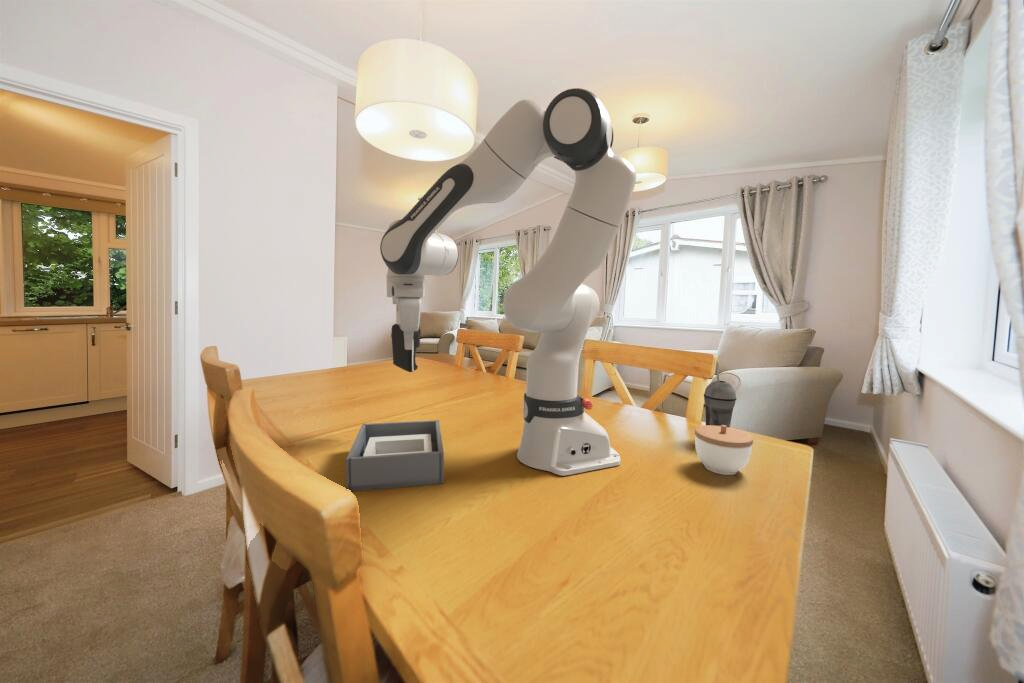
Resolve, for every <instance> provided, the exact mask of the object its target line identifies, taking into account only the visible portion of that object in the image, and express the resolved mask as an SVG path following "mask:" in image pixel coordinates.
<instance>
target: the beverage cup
mask: <svg viewBox="0 0 1024 683" xmlns="http://www.w3.org/2000/svg"><path fill="white" fill-rule="evenodd" d="M715 368H716V380H714V381H711V383H709V384H708V385H707V386H706V388H705V390H704V393H703V399H704V404H705V405H704V406H705V407H704V408H705V426H706V425H714V426H721V425H726V426H727V427H729V428H731V421H732V417H733V411H734V408H735V405H736V402H737V399H738V398H737V394H736V391H735V388H734V387H733V386H732V384H730V383H729V382H728V381H725V380H720V368H719V363H718V362H717V363H715Z"/></svg>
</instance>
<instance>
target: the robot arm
mask: <svg viewBox="0 0 1024 683" xmlns="http://www.w3.org/2000/svg"><path fill="white" fill-rule="evenodd" d="M613 143H614V129H613V126H612V120H611V117H610V114H609V112H608V110H607V108H606V107H605V105H604V104H603V102H602V101H601V99H600V98H599V97H598V95H596V94H595V93H594V92H592V91H589V90H588V89H584V88H579V87H578V88H577V87H574V88H569V89H568V88H567V89H566V90H563V91H561V92H560V93H558V94H557V95H556V96H555V97H554V98H553V99H552V100H551V101H550V102H549V104H548V106H547V108H545V107H543V106H542V105H541V104H539V102H536V101H535V100H534V101H533V100H530V99H521V100H518V101H517V102H516V103H515V104H514V105H513V106H512V107H510V108H509V109H508V110H507V111H506V112H505V113H504V114H503V115H502V116H501V117H500V119H498V121H497V122H496V123H495V124H494V125H493V127H492V128H491V129H490V131H488V133H487V134H486V136H485V137H484V138H483V139H482V141H481V143H479V145H478V146H477V147H476V148H475V149H474V150H473V152H471V153H470V154H469V155H468V156H467V157H466V158H465V159H464V160H463V159H462V161H460V162H459V163H457V164H455V165H453V166H451V167H450V168H449V169H448V170H446V171H445V172H444V173H443V174H442V175H441V176H440V177H439V178H437V180H436V181H435V182H434V184H432V186H431V187H430V188H429V189H428V190H427V191H426V192H425V193H424V194H423V196H421V198H420V199H419V200H418V201H417V203H416V204H415V205H414V206H413V207H412V208H411V209H410V210H409V211H408V213H407V214H406V215H405V216H403V217H402V218H401V219H397V220H395V221H393V222H391V223H390V224H389V226H388V228H387V230H386V231H385V233H384V234H383V236H382V238H381V240H380V245H379V246H380V248H379V250H380V254H381V255H380V256H381V258H382V260H383V262H384V263H385V266H386V267H387V271H386V272H387V273H386V297H387V298H392V301H391V302H392V305H396V306H395V315H396V316H395V317H396V318H395V319H396V320H395V322H396V323H399V327H400V329H401V330H402V331H404V348H405V349H406V350H411V349H412V348H413V336H414V331H418V330H419V329H420V328H419V327H420V322H421V310H422V308H421V307H422V299H423V298H425V297H426V294H425V292H426V291H425V290H426V289H425V288H426V286H425V285H426V284H425V276H435V277H441V276H446V275H449V274H451V273H453V271H454V270H455V268H456V266H457V264H458V262H459V249H458V245H457V243H456V242H455V239H453V238H452V237H450V236H448V235H446V234H443V233H439V232H437V231H438V229H439V228H440V227H441V226H442V225H443V224H444V223H445V222H446V221H447V219H449V217H450V216H451V215H452V214H453V213H455V212H456V211H458V210H459V209H462V208H465V207H468V206H473V205H479V204H496V203H497V204H498V203H501V202H504V201H506V200H507V199H509V198H510V197H511V196H513V194H515V193H516V192H517V191H518V190H519V189H520V187H521V186H522V185H523V184H524V183H525V181H526V180H527V179H528V178H529V176H530V175H531V174H532V172H533V171H534V170H535V169H536V168H537V167H538V166H539V165H540V163H541V162H543V161H544V160H546V159H547V158H551V157H552V158H555V159H556V160H558V161H560V162H562V163H564V164H565V165H566V166H568V167H569V168H570V169H571V170H573V171H574V173H575V174H574V176H575V179H574V180H575V181H574V185H573V189H572V192H571V194H570V197H569V200H568V202H567V204H566V207H565V208H564V211H563V213H562V216H561V217H560V221H559V223H558V224H557V225H558V226H557V228H556V230H555V232H554V235H553V236H552V239H551V241H550V243H549V245H548V246H547V247H546V250H545V251H544V252H543V254H542V255H541V256H540V258H539V259H538V260H537V262H536V263H535V264H534V265H533V266H532V268H531V269H530V270H529V271H527V273H525V275H524V276H522V277H521V278H519V279H518V280H516V281H514V282H513V283H512V284H510V286H508V288H507V290H506V291H505V294H504V296H503V300H502V301H503V303H502V309H503V310H502V311H503V314H504V317H505V319H506V320H507V322H508V323H509V324H510V325H511V327H513V328H514V329H518V330H521V331H524V332H530V333H540V337H539V340H538V343H537V345H536V346H535V348H534V349H533V350H532V351H531V352H530V354H529V356H528V357H527V360H526V375H525V376H526V380H525V381H526V382H525V384H526V385H525V393H524V395H523V401H522V417H523V428H522V435H521V438H520V439H521V441H520V444H519V447H518V450H517V453H516V457H517V460H518V461H520V463H522V464H523V465H525V466H528V467H529V468H530V467H531V468H534V469H537V470H541V471H547V472H550V473H552V474H554V475H555V474H556V475H558V476H563V477H564V476H565V477H566V476H571V475H575V474H581V473H585V472H590V471H596V470H602V469H607V468H611V467H616V466H620V465H621V461H622V460H621V456H620V454H619V453H618V452H617V451H616V450H615V449H614V448H613V447H612V446H611V442H610V437H609V434H608V432H607V430H606V429H605V428H604V427H603V426H602V425H600V423H598V422H597V421H596V420H595V419H593V418H592V417H591V416H590V415H589V414H587V413H586V412H585V410H587V411H589V410H590V411H591V410H592V408H594V402H593V401H592V400H590V399H588V398H584V397H582V396H580V395H579V394H578V381H579V380H578V379H579V366H580V358H581V353H582V349H583V346H584V343H585V340H586V336H587V333H588V332H589V329H590V326H591V325H592V324H593V322H594V321H595V320H596V319H597V318H598V315H599V312H600V306H601V304H600V299H599V296H598V294H597V292H596V291H595V290H594V289H593V288H592V287H590V286H588V285H587V284H584V282H585V281H586V279H587V278H588V277H589V276H590V275H591V274H592V273H593V272H595V271H596V270H598V269H599V268H600V267H601V266H602V265H603V264H604V262H605V260H606V258H607V255H608V253H609V252H610V249H611V247H612V245H613V243H614V241H615V238H616V236H617V234H618V232H619V230H620V228H621V226H622V223H623V221H624V219H625V217H626V214H627V212H628V209H629V205H630V203H631V199H632V196H633V193H634V190H635V186H636V181H637V174H636V170H635V168H634V166H633V165H632V163H631V162H630V161H629V160H627V159H626V158H624V157H623V156H621V155H619V154H616V153H614V152H613V150H612V148H613V147H612V146H613ZM396 323H395V324H396Z"/></svg>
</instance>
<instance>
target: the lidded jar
mask: <svg viewBox="0 0 1024 683" xmlns="http://www.w3.org/2000/svg"><path fill="white" fill-rule="evenodd" d="M694 435H695V436H694V445H695V452H696V455H697V457H698V460H699V461H700V462H701V463H702V464H703V465H704V468H705V469H706V470H708V471H710V472H712V473H715V474H719V475H723V476H734V475H736V474H738V472H739V471H741V470H742V469H744V468H745V466H747V465H748V463H749V461H750V457H751V454H752V449H753V443H754V437H753V436H752V435H750V434H749V433H747V432H746V431H743V430H740V429H737V428H733V427H730V428H729V427H727V426H726V425H721V426H714V425H706V424H705V425H699V426H697V427H696V428H695V430H694Z"/></svg>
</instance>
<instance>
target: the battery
mask: <svg viewBox="0 0 1024 683" xmlns="http://www.w3.org/2000/svg"><path fill="white" fill-rule="evenodd" d="M391 346H392V347H391V348H392V349H391V350H392V364H393V365H394V366H396V367H397V368H400V369H401V370H403V371H406V372H408V373H413V372H415V371H416V370H418V368H419V366H418V365H417V363H416V352H417V348H420V346H421V336H420V330H419V329H418V331H414V336H413V348H412V349H411V350H406V349H405V348H404V331H402V330H401V329H400V327H399V323H394V324H393V325H391Z"/></svg>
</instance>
